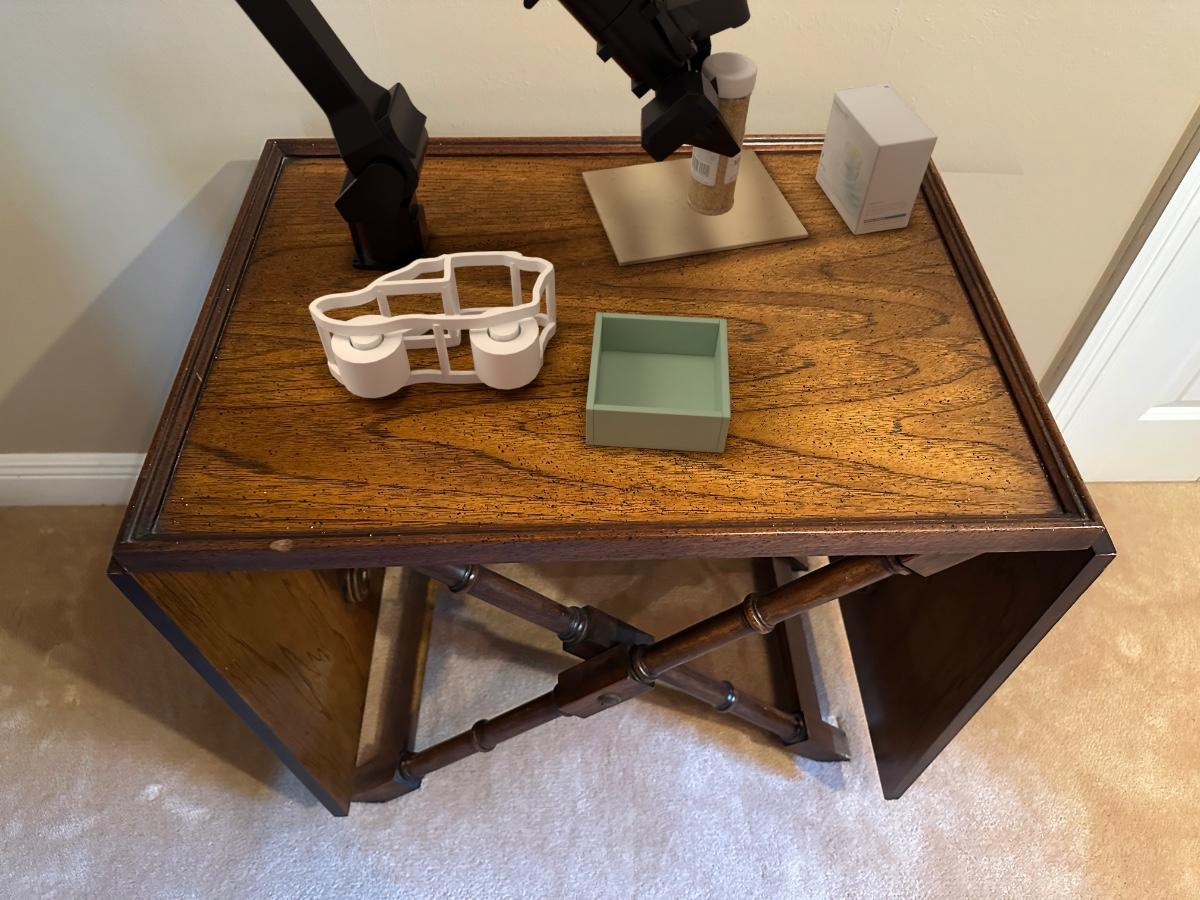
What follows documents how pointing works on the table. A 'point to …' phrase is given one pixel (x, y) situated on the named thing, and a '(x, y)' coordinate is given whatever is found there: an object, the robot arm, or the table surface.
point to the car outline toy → (439, 328)
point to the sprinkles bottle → (735, 87)
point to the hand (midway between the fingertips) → (734, 139)
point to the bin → (659, 383)
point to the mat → (686, 211)
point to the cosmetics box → (874, 158)
